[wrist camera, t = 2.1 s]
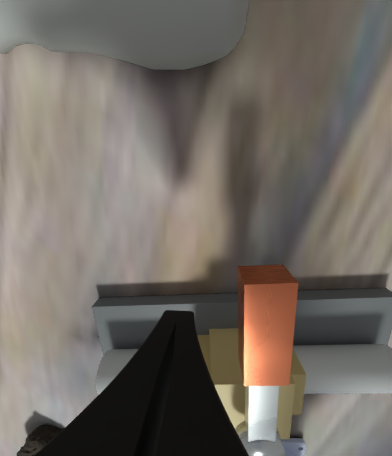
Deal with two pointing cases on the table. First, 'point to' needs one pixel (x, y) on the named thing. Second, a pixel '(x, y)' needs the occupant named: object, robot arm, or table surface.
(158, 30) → the screwdriver
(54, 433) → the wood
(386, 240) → the table surface
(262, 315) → the valve lever
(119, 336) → the valve stand
